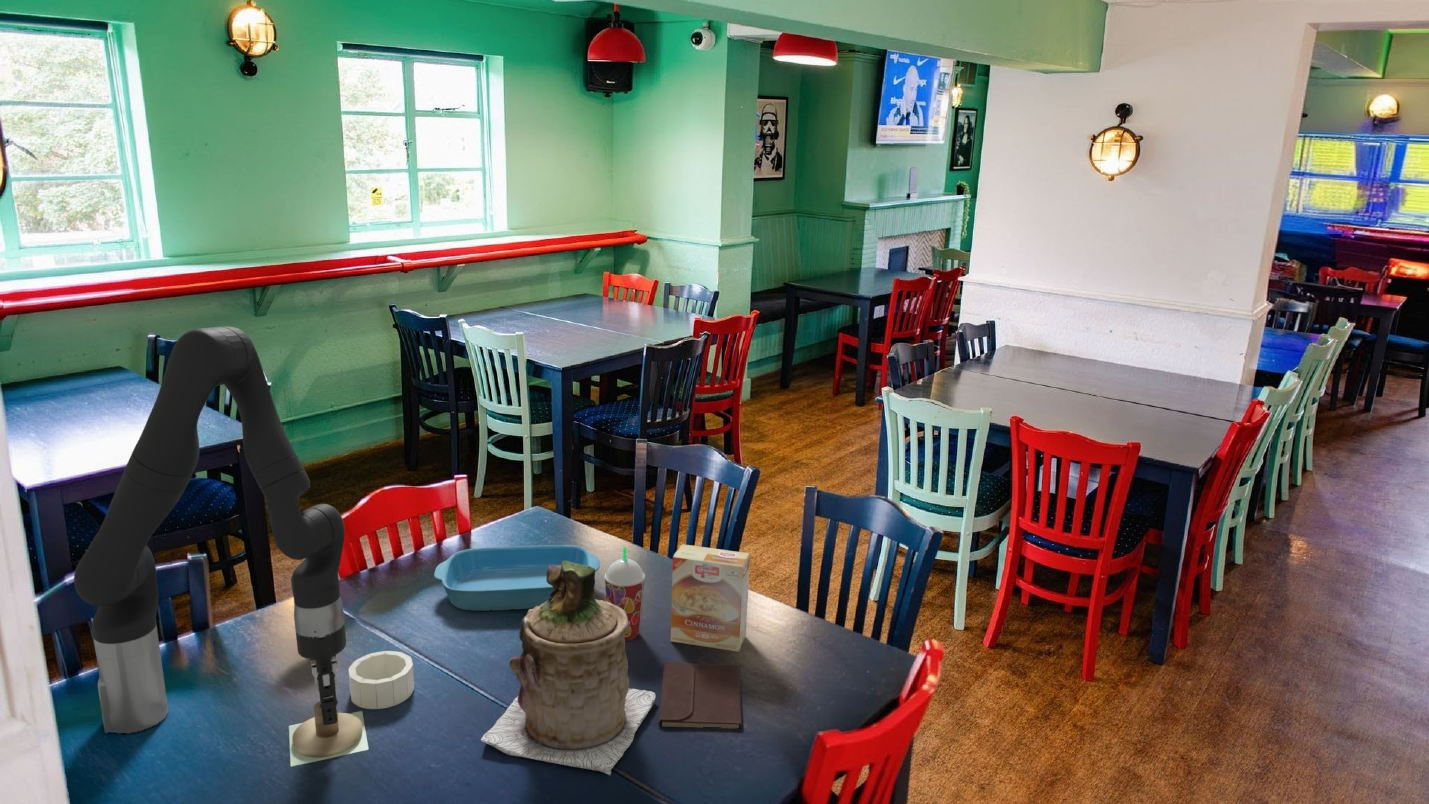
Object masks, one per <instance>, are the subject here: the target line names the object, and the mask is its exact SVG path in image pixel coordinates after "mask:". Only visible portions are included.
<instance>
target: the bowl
mask: <svg viewBox="0 0 1429 804" xmlns="http://www.w3.org/2000/svg"><path fill="white" fill-rule="evenodd" d="M414 677H415V676H414V663H413V660H412V657H411V656H410V655H408V654H405V653H404V652H402V651H394V650H393V651H392V650H383V651H377V652H371V653H368V654H366V655H363V656H361V657H360V658H357V659H356V660H354V661H353V662H352V663H351V665H350V666H349V667H348V679H349V681H348V682H349V692H350V693H349V694H350V699H351V702H352V703H353V704H354V705H355V706H357V707H359V708H362V709H365V710H380V709H381V710H382V709H383V710H384V709H387V708H391V707H394V706H397V705H399V704H401V703H403V702H405V701H406V700H407V699H409V698H410V697H411V696H412V694H413V692H414V690H415V678H414Z"/></svg>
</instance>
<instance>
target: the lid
mask: <svg viewBox="0 0 1429 804" xmlns="http://www.w3.org/2000/svg"><path fill="white" fill-rule="evenodd" d="M319 702H320V701H318V702H316V703H315V704H314V706H313V713H314V714H313V715H314V717H311V718H309V719H307V720H306V721H304V722H301V723H302V724H301V725H300V726H299V727H298V728H297V729H296V730H295V731H294V733H293V737H292V740H293V747H294V749H295V751H296V752H297V753H299V754H301V755H303V756H306V757H314V758H320V757H328V756H332V755H336V754H339V753H342V752H344V751H346V750H348V749H349V748H351V747H352V746H354V745H355V744H356V743H357V742H358V741H359V740H360V738H361V736H362V723H361V721H360V720H359V719H358V718H357V717H356V716H354V715H351V714H349V713H346V712H338V705H337V706H336V710H337V720H338V721H337V723H335V724H331V725H324V724H323V717H322V709H321V707H320V704H319Z"/></svg>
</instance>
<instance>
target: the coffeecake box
mask: <svg viewBox="0 0 1429 804" xmlns="http://www.w3.org/2000/svg"><path fill="white" fill-rule="evenodd" d="M750 559H751V553H750V552H743V551H733V550H727V549H719V548H713V547H704V546H698V545H692V544H691V545H689V544H684V543H683V544H682V543H681V545H680V546H679V548H678V549H677V550H676V551H675V553H674V554H673V556H672V573H671V576H672V577H671V609H670V611H671V613H670V615H671V616H670V642H672V643H678V644H679V643H680V644H686V645H692V646H699V647H705V648H712V649H718V650H725V651H731V652H737V653H738V652H740V650H741V648H742V645H743V643H744V641H745V639H746V636H747V623H748V622H747V621H748V619H747V618H748V602H749V601H748V600H749V580H750V563H751V560H750Z"/></svg>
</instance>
